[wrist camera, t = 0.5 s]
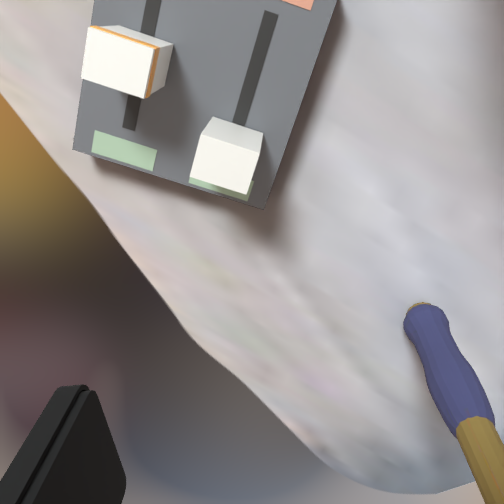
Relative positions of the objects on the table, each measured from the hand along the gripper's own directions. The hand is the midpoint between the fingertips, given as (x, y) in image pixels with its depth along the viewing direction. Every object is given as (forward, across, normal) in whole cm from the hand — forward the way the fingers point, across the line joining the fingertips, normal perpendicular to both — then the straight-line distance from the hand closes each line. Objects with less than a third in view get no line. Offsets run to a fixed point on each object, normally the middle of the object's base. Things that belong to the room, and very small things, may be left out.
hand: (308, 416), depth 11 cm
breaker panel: (+32, +6, -6) cm, 33 cm away
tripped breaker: (+29, +9, -7) cm, 31 cm away
